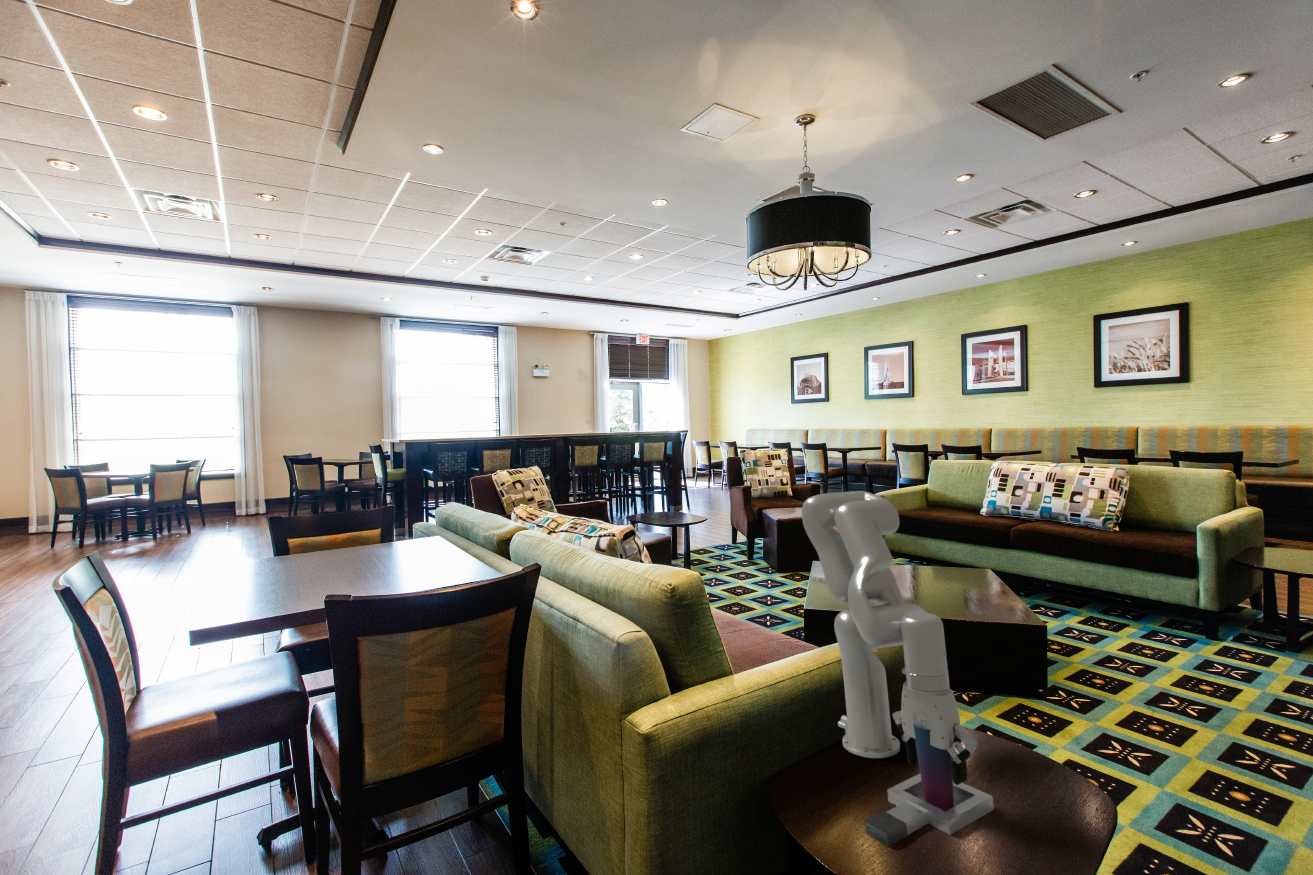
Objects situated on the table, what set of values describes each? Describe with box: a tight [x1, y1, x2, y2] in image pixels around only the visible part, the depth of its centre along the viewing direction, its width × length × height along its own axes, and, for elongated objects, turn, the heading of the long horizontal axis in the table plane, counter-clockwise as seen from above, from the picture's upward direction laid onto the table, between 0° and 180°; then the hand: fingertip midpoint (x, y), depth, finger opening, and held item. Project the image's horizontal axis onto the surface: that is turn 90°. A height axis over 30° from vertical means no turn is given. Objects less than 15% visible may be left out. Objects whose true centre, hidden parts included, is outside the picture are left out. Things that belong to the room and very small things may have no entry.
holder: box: [864, 773, 995, 847], centre depth 110 cm, size 24×13×2 cm, turn 120°
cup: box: [913, 723, 954, 810], centre depth 113 cm, size 7×7×15 cm
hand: (936, 771), depth 113 cm, fingers open, 9 cm apart
